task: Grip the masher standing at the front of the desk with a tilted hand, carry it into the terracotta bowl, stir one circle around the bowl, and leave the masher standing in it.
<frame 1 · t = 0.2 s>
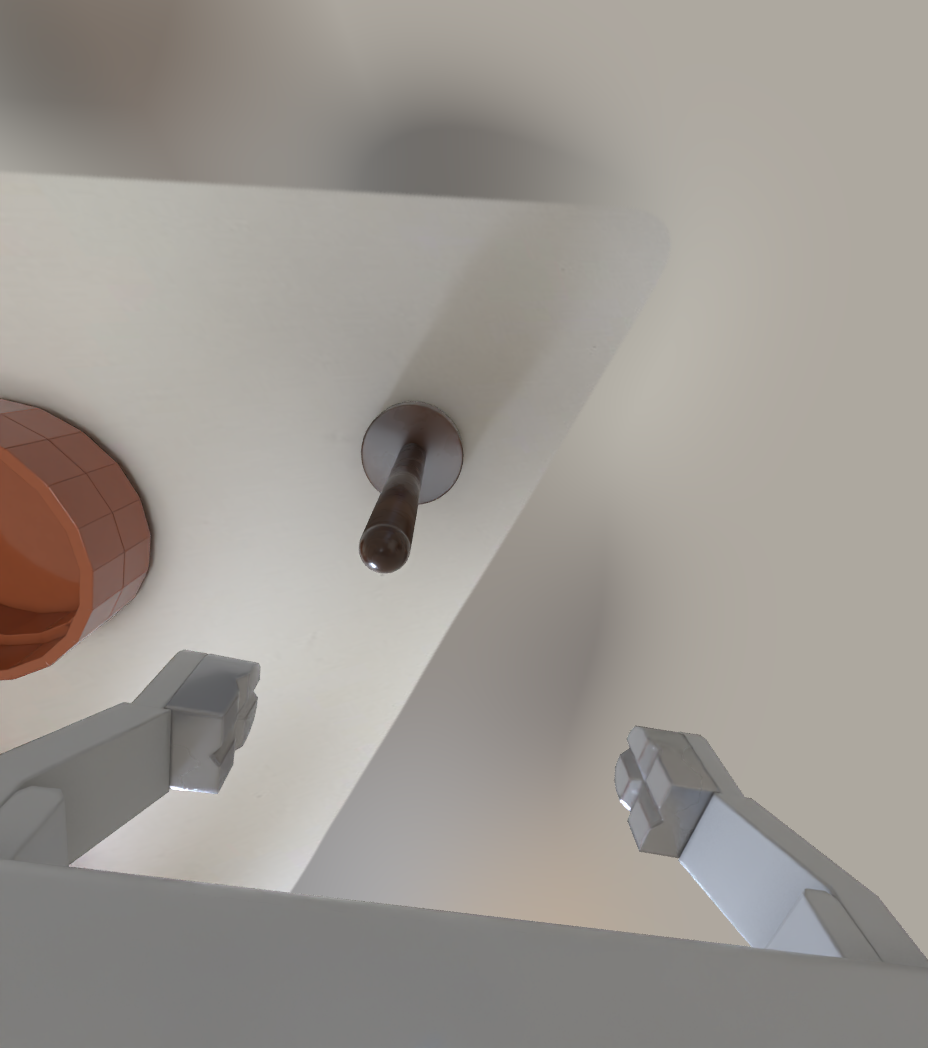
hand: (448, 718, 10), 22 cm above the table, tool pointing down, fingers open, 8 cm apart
masher: (414, 450, 30), on the table
bowl: (29, 520, 31), on the table
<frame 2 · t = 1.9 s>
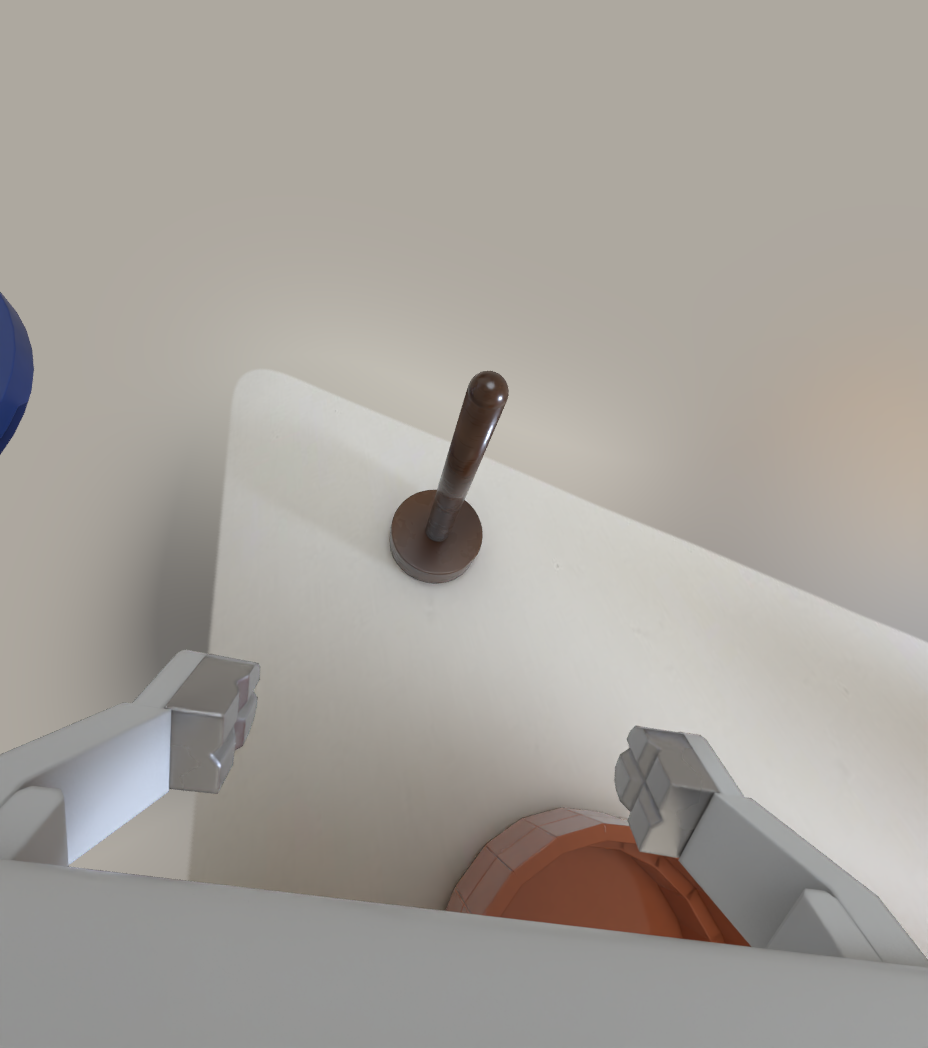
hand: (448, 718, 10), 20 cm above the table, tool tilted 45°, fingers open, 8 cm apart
masher: (433, 541, 33), on the table
bowl: (574, 978, 25), on the table
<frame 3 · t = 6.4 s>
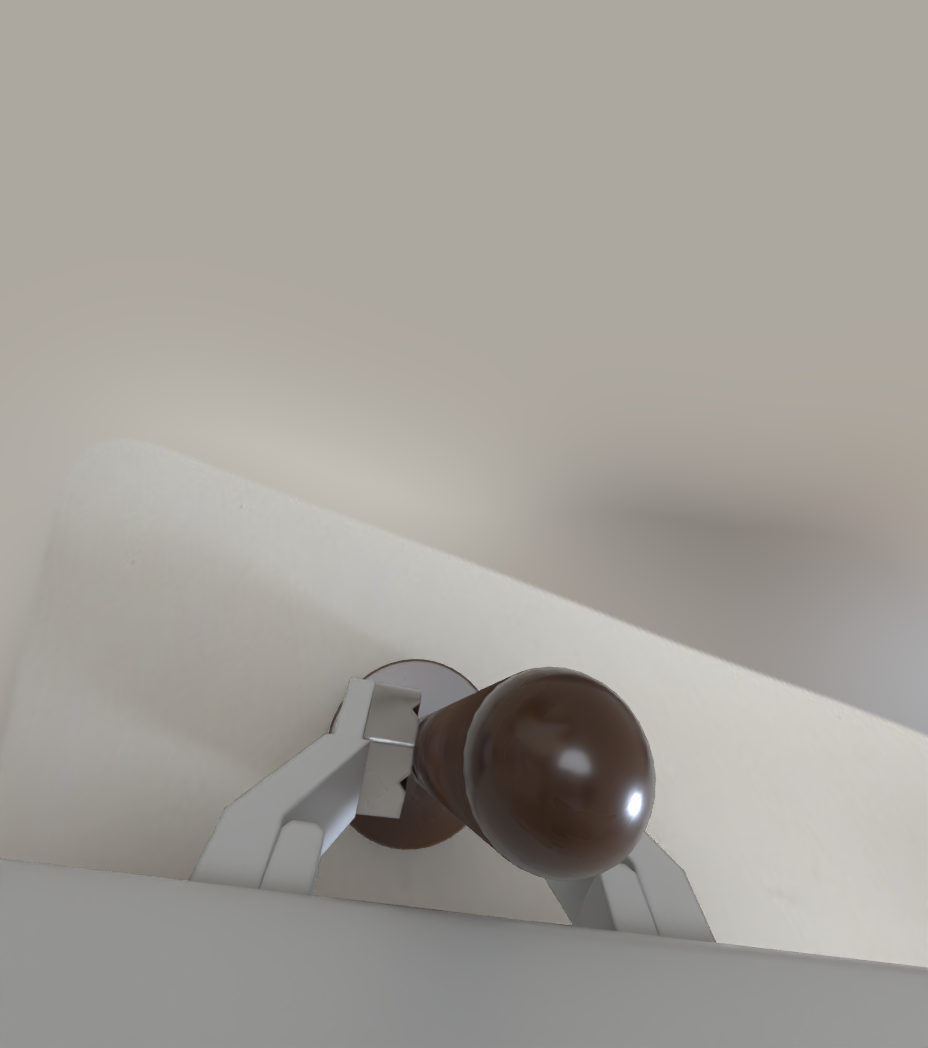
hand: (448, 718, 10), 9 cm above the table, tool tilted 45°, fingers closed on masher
masher: (410, 746, 18), on the table, touching gripper
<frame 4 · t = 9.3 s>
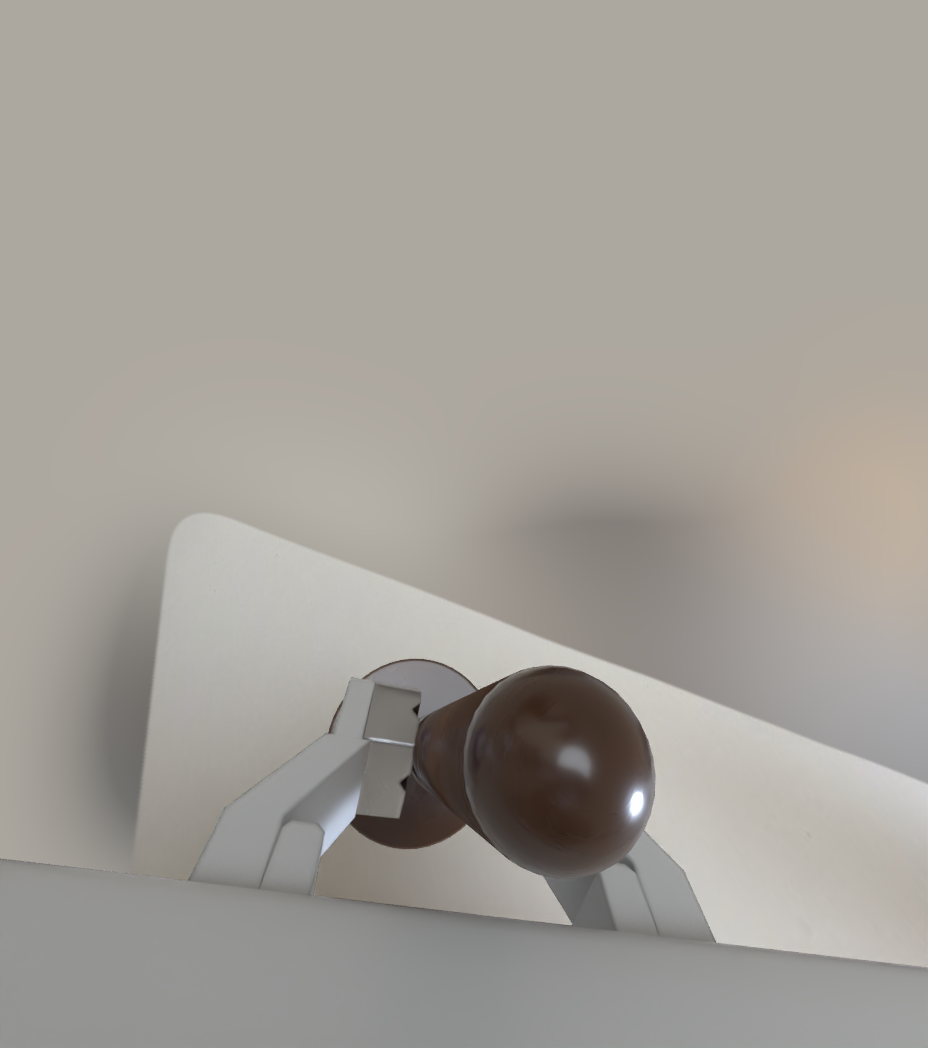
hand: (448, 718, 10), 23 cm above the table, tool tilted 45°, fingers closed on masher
masher: (409, 746, 18), point 14 cm above the table, touching gripper
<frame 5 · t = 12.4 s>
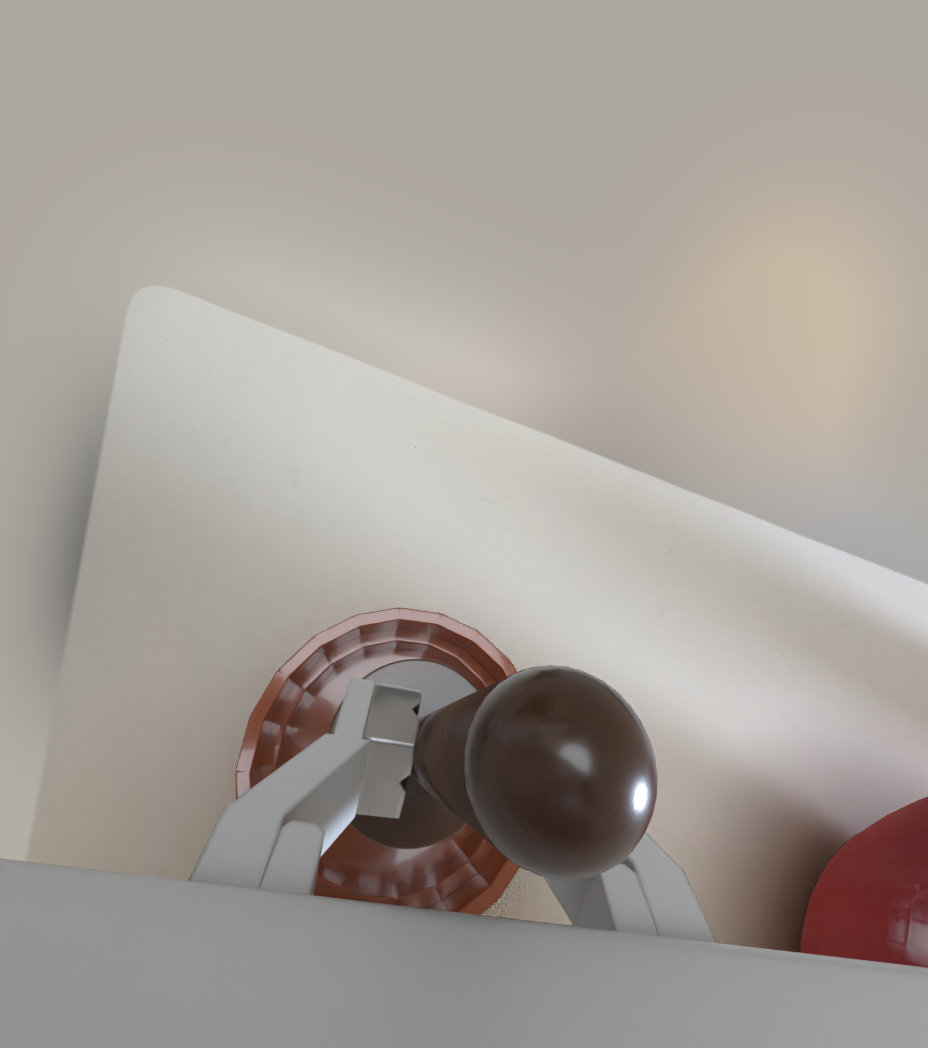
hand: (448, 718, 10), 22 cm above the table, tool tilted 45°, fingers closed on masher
masher: (410, 746, 18), point 13 cm above the table, touching gripper
mixing bowl: (903, 996, 29), on the table
bowl: (394, 755, 30), on the table
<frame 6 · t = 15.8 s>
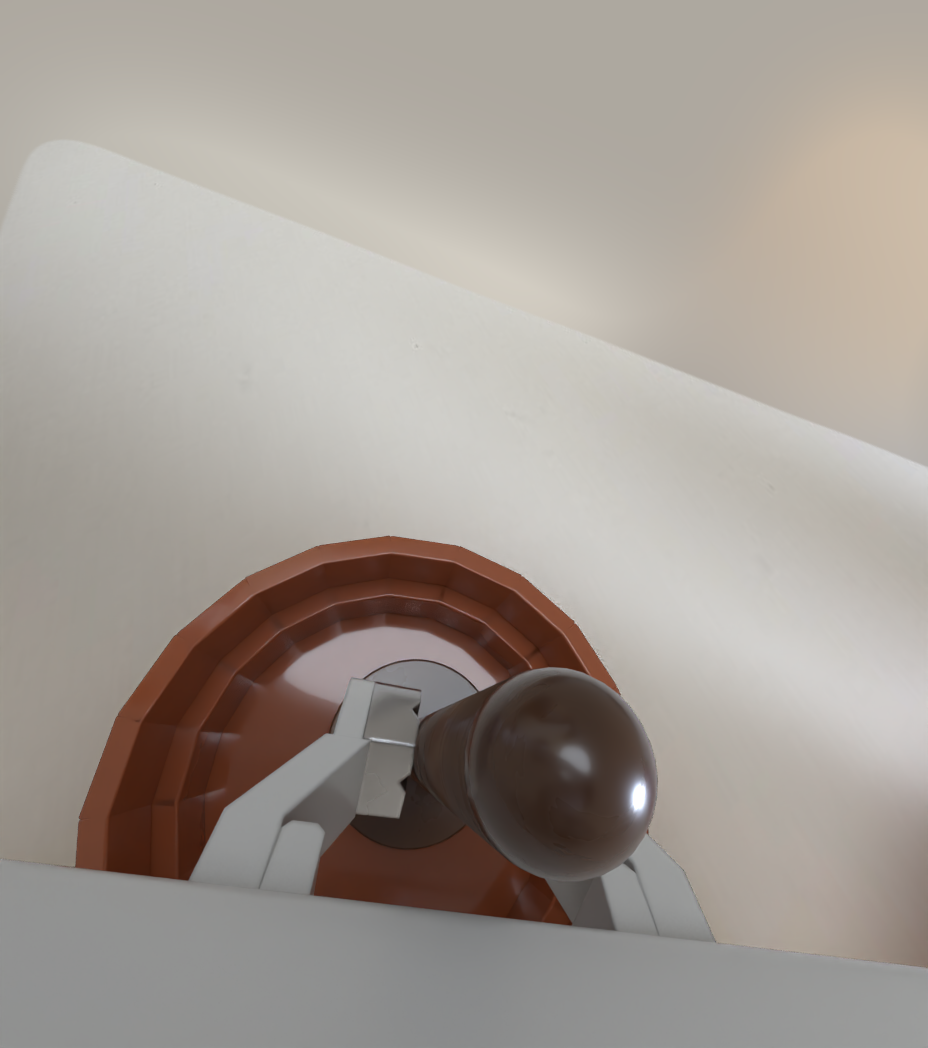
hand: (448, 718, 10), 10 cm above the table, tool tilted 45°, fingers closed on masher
masher: (410, 746, 18), point 1 cm above the table, touching gripper
bowl: (385, 777, 19), on the table
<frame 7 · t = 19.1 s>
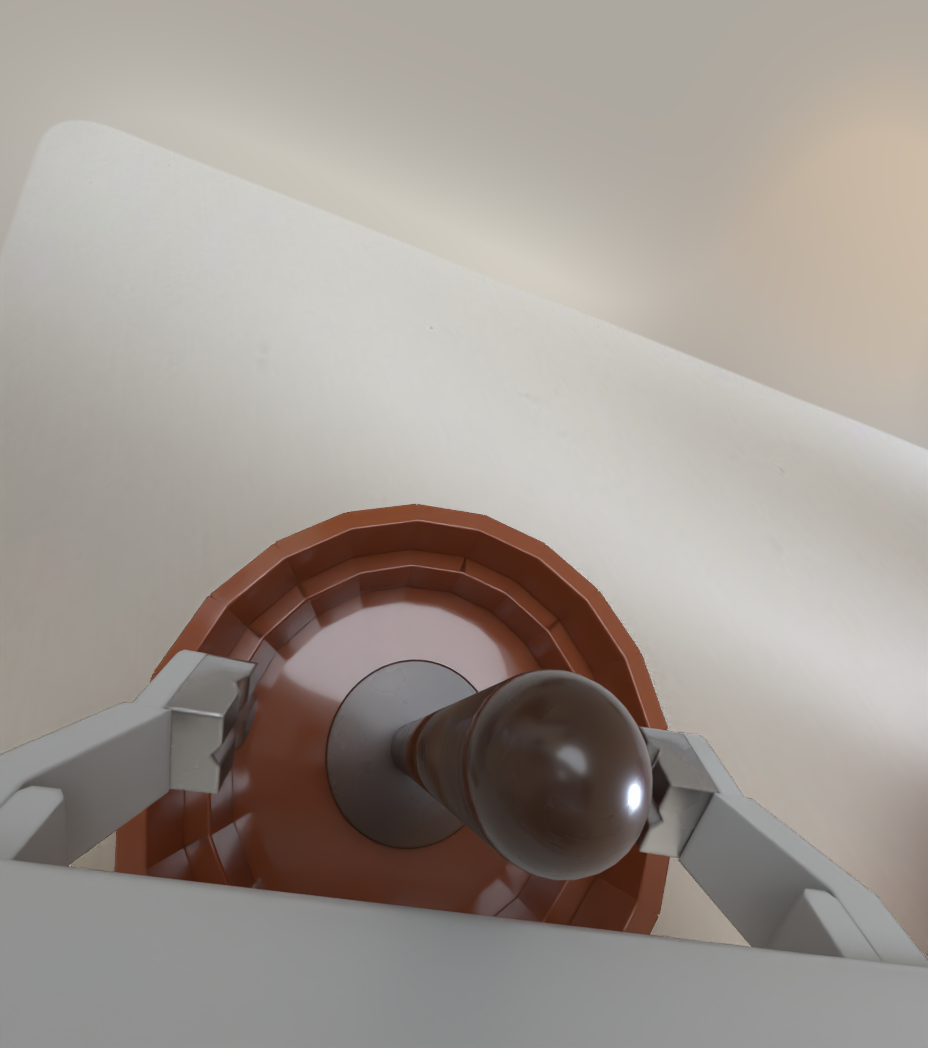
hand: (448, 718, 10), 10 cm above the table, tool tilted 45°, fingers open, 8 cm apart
masher: (409, 746, 18), point 1 cm above the table, touching bowl
bowl: (407, 746, 19), on the table
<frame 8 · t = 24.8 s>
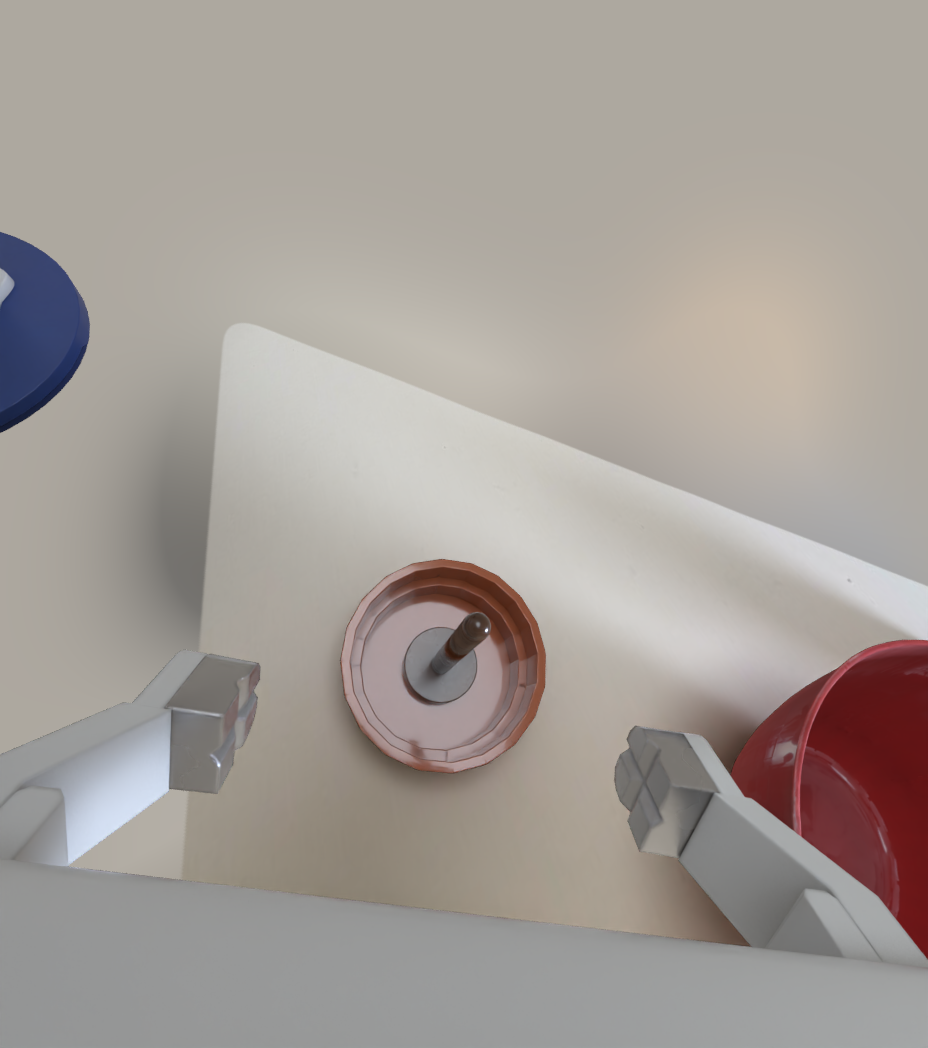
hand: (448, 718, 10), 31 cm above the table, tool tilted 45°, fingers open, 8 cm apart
masher: (438, 667, 41), point 1 cm above the table, touching bowl
mixing bowl: (803, 839, 41), on the table
bowl: (436, 667, 41), on the table
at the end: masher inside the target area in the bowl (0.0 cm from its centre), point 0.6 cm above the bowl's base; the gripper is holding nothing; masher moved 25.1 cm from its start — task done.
